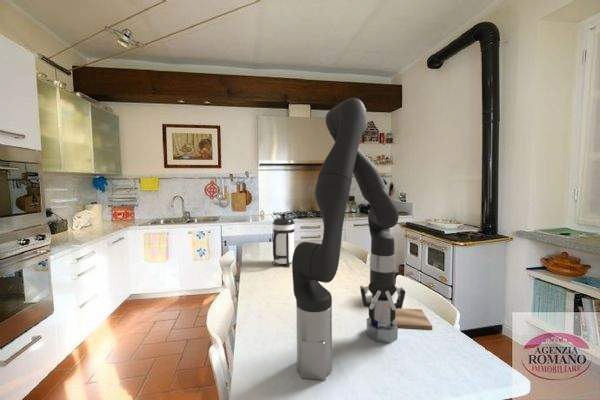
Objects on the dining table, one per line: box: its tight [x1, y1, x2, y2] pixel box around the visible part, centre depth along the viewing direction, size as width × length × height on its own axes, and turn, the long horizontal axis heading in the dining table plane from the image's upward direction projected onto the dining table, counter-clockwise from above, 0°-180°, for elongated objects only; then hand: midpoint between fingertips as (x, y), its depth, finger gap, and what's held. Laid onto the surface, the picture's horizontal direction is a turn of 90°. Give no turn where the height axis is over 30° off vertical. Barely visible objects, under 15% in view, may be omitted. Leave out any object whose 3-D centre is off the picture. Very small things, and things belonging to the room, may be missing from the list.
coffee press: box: [271, 213, 295, 268], centre depth 162 cm, size 17×16×30 cm
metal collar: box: [365, 317, 399, 344], centre depth 89 cm, size 9×9×4 cm
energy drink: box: [373, 300, 391, 328], centre depth 88 cm, size 5×5×12 cm
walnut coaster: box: [395, 307, 433, 330], centre depth 98 cm, size 12×12×1 cm
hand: (381, 319), depth 88 cm, fingers closed on energy drink, 5 cm apart
